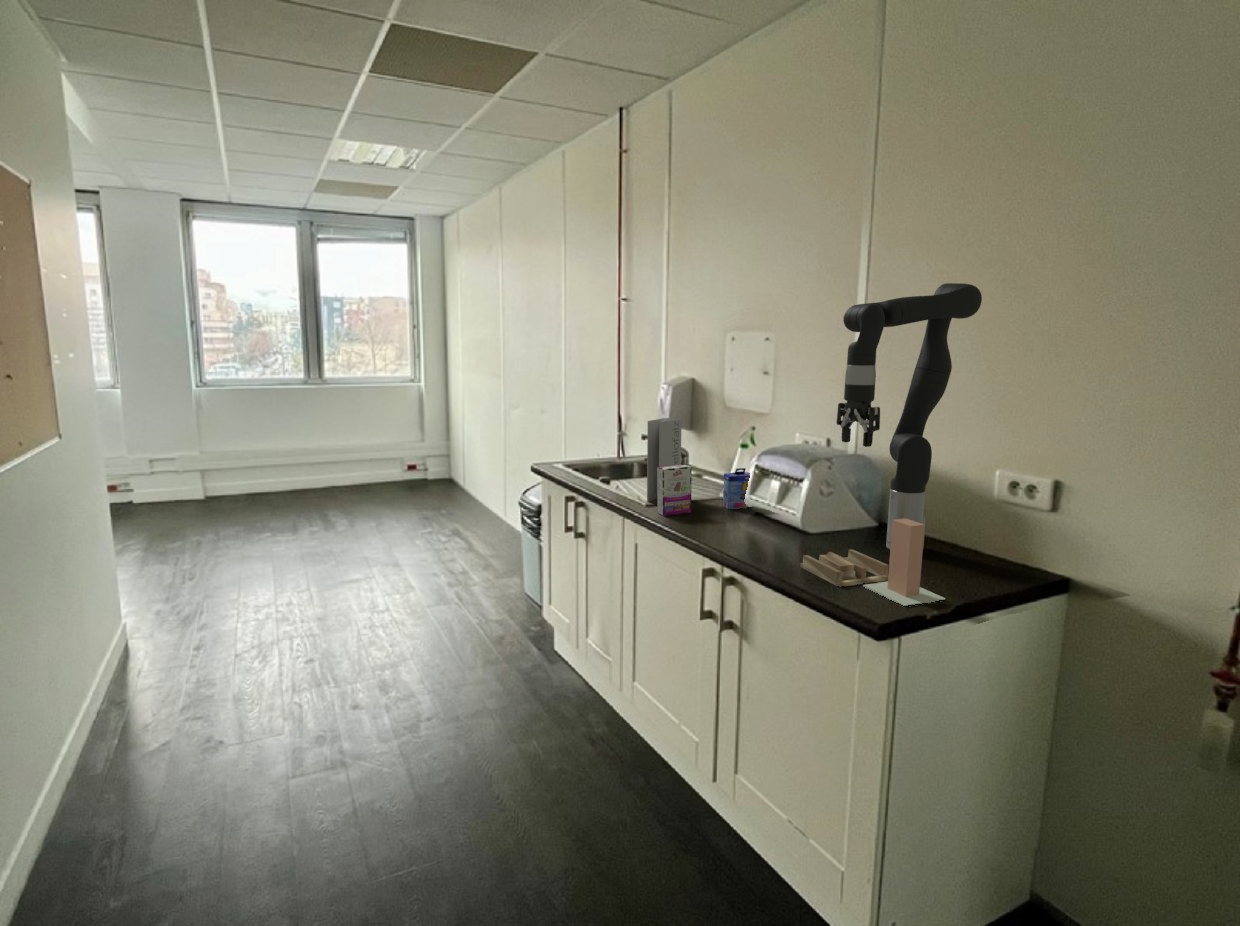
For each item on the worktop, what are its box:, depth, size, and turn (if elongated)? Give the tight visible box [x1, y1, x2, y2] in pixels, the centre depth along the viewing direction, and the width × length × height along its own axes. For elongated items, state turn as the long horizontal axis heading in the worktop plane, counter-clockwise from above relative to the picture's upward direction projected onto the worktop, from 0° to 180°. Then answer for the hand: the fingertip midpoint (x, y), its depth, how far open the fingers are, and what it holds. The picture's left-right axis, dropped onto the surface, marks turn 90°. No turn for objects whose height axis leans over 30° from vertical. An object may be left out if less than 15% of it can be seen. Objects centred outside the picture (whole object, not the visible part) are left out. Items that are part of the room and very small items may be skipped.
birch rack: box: [799, 549, 889, 588], centre depth 182 cm, size 16×16×4 cm
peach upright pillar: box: [887, 518, 926, 597], centre depth 166 cm, size 4×6×17 cm, turn 21°
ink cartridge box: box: [722, 467, 751, 510], centre depth 250 cm, size 10×6×14 cm, turn 104°
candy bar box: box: [656, 464, 692, 517], centre depth 242 cm, size 11×5×16 cm, turn 114°
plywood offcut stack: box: [818, 553, 857, 581], centre depth 180 cm, size 4×11×4 cm, turn 17°
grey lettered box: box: [646, 417, 683, 503], centre depth 261 cm, size 14×6×30 cm, turn 143°
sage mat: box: [862, 580, 946, 607], centre depth 167 cm, size 12×14×1 cm
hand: (856, 444), depth 186 cm, fingers open, 8 cm apart
